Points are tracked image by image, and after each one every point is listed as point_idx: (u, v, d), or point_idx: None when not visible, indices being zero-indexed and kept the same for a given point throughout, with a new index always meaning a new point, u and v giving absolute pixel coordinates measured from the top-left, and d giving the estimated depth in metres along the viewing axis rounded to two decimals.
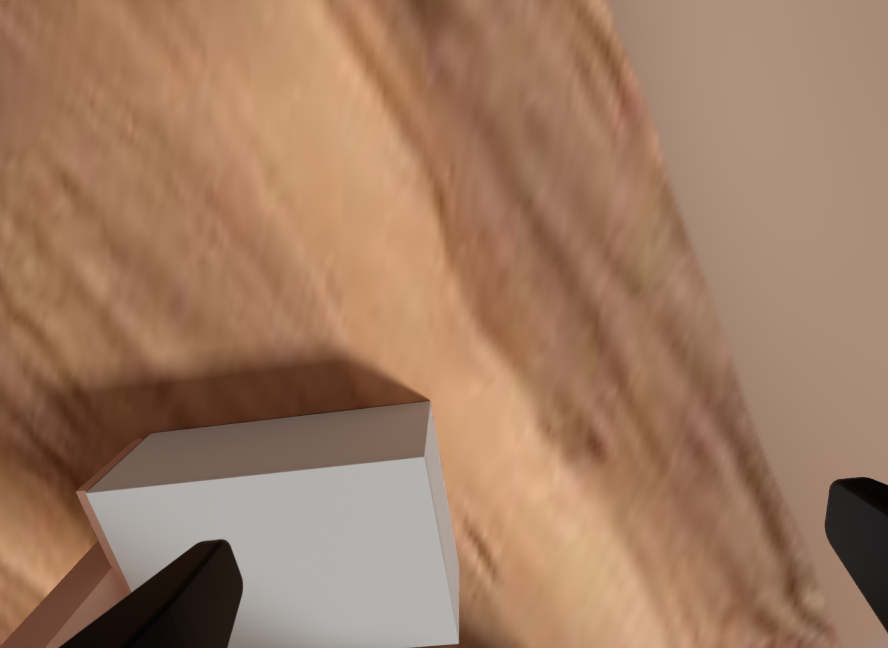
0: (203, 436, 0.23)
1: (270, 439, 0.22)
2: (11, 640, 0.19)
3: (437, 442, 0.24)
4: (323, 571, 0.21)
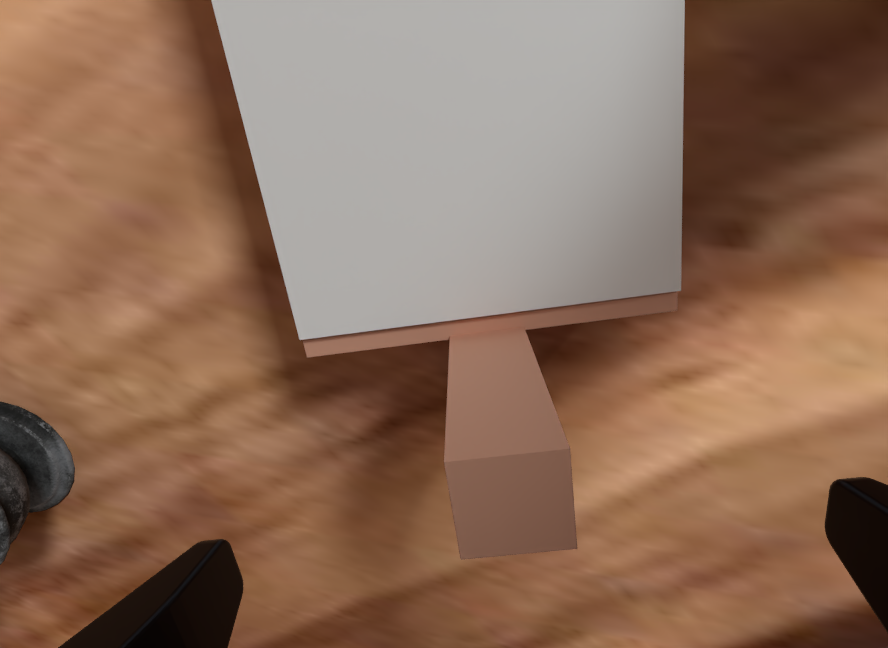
0: None
1: None
2: None
3: None
4: None
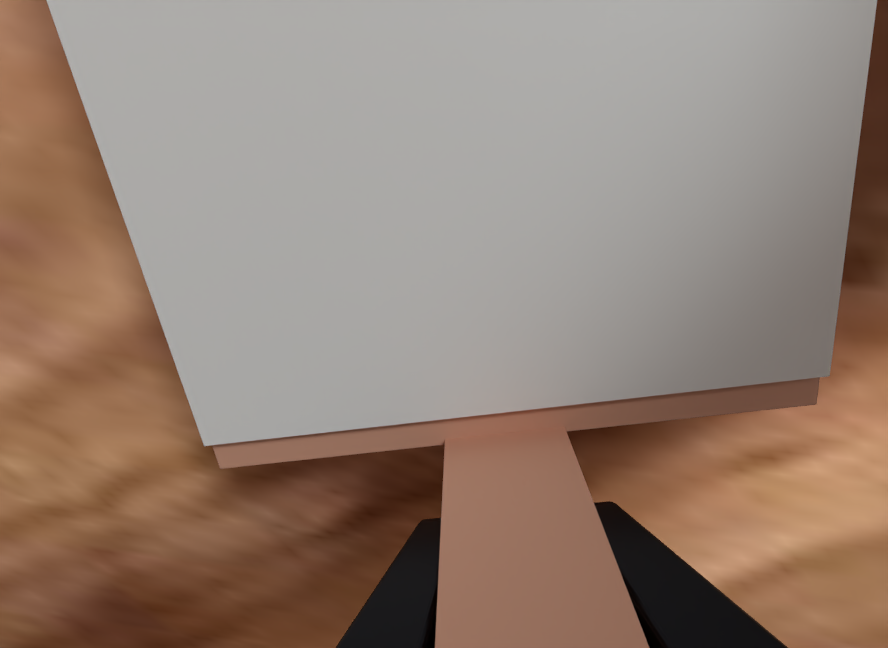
0: None
1: None
2: None
3: None
4: None
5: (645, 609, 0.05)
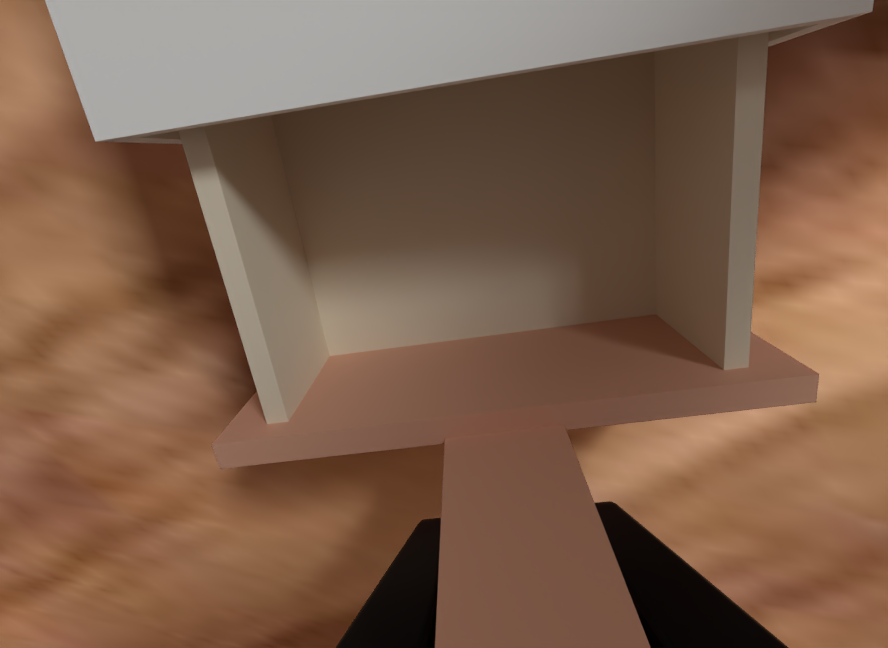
0: None
1: None
2: None
3: None
4: None
5: (645, 609, 0.05)
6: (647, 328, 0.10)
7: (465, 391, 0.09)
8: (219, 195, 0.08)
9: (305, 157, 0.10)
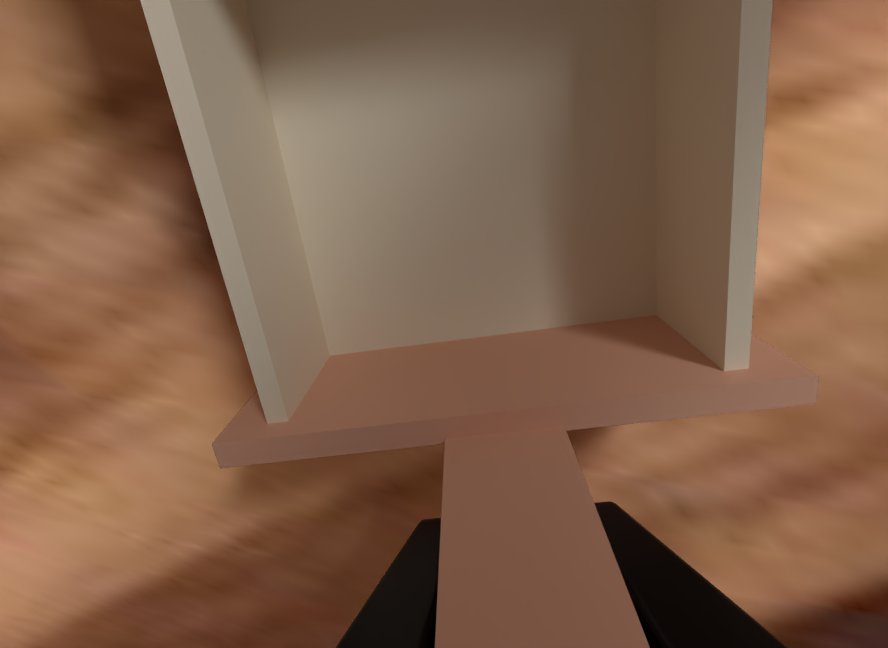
0: None
1: None
2: None
3: None
4: None
5: (645, 609, 0.05)
6: (648, 329, 0.10)
7: (465, 391, 0.09)
8: (220, 195, 0.08)
9: (306, 156, 0.10)
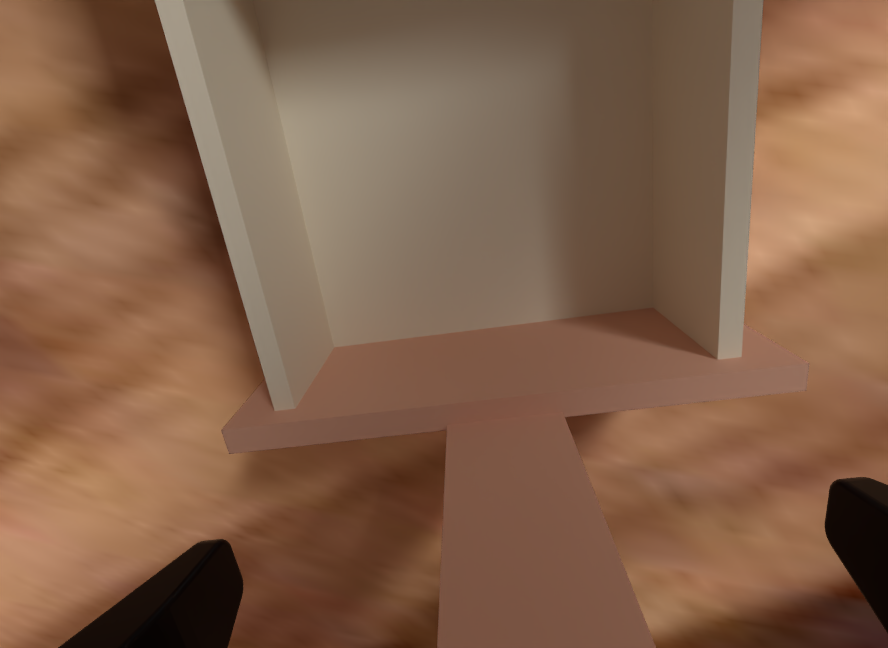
0: None
1: None
2: None
3: None
4: None
5: None
6: (645, 320, 0.11)
7: (466, 380, 0.09)
8: (230, 188, 0.08)
9: (312, 153, 0.10)
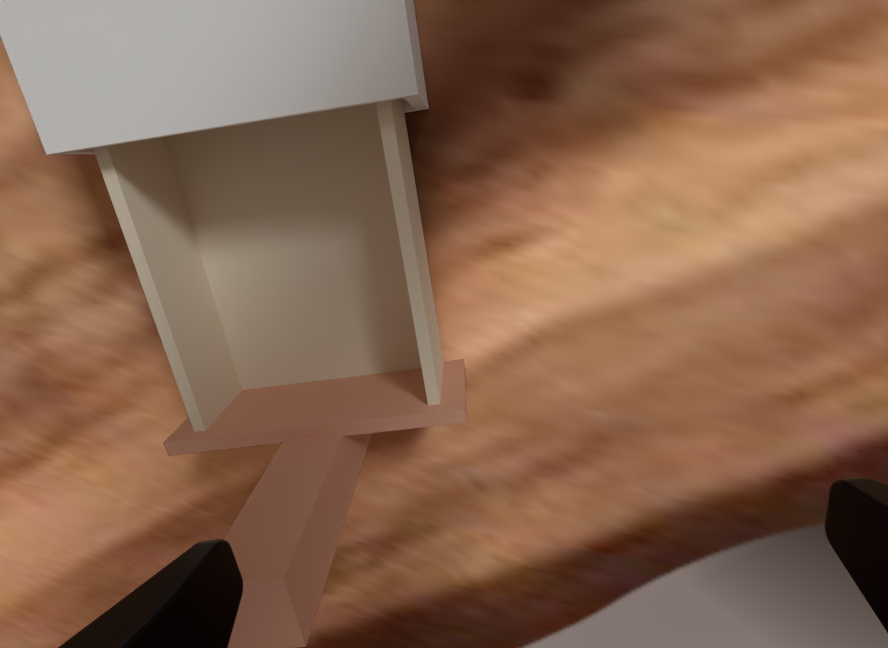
0: None
1: None
2: None
3: None
4: None
5: None
6: (419, 377, 0.18)
7: (300, 414, 0.17)
8: (164, 319, 0.15)
9: (222, 279, 0.18)
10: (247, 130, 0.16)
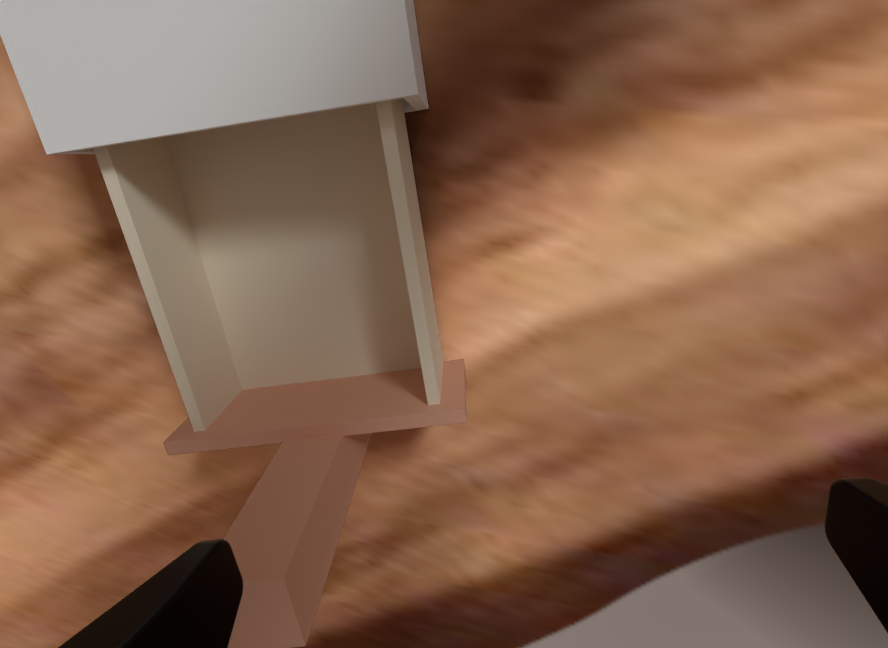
0: None
1: None
2: None
3: None
4: None
5: None
6: (419, 376, 0.18)
7: (300, 414, 0.17)
8: (164, 319, 0.15)
9: (222, 279, 0.18)
10: (247, 130, 0.16)
